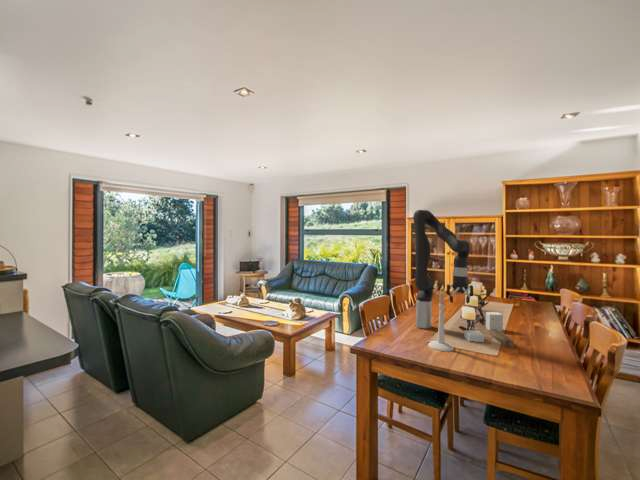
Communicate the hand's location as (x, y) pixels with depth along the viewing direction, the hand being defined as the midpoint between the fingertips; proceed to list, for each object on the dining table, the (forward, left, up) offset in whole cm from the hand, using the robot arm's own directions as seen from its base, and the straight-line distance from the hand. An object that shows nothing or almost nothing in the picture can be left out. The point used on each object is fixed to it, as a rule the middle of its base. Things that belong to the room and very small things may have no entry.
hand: (459, 302), depth 179 cm
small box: (+27, +19, -21) cm, 39 cm away
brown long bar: (+22, -1, -20) cm, 30 cm away
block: (+8, -1, -21) cm, 22 cm away
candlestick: (-14, -16, -21) cm, 30 cm away
